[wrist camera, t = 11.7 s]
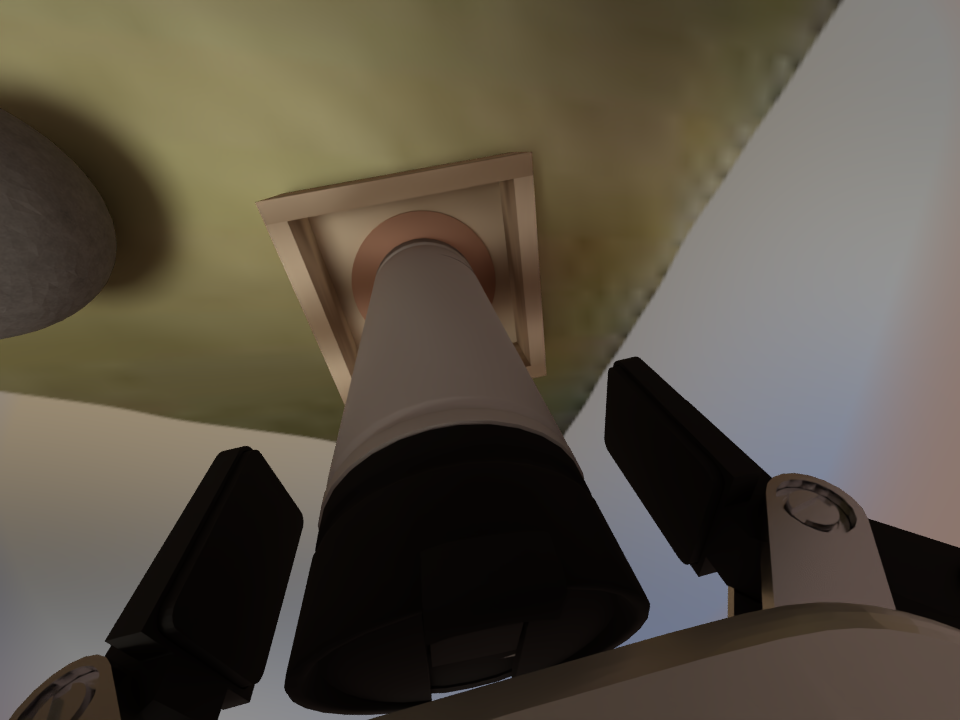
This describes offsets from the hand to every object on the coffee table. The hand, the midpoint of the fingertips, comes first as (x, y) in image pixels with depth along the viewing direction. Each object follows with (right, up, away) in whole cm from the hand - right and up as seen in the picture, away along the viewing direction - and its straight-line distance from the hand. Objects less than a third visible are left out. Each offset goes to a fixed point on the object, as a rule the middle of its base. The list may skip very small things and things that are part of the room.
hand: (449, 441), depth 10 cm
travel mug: (-3, +7, +13) cm, 15 cm away
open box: (-3, +8, +14) cm, 16 cm away
